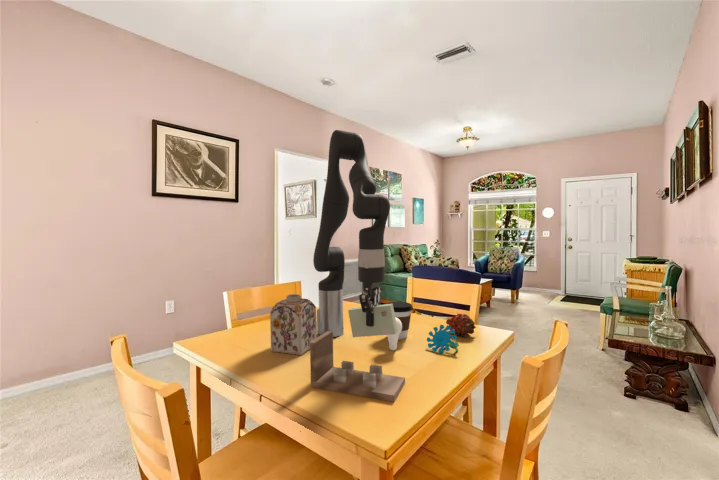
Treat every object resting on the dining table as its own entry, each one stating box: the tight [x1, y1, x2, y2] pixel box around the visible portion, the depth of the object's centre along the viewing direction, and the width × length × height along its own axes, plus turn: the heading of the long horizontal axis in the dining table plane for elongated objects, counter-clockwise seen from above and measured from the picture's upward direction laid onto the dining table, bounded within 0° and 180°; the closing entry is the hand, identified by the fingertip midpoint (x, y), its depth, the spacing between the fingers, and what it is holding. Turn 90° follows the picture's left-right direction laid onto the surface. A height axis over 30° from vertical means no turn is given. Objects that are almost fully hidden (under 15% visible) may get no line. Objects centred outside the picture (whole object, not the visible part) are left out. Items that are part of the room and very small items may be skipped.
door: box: [347, 303, 398, 338], centre depth 97 cm, size 13×4×8 cm, turn 68°
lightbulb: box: [386, 317, 402, 351], centre depth 112 cm, size 6×6×11 cm
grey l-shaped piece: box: [309, 331, 406, 403], centre depth 87 cm, size 22×10×12 cm, turn 68°
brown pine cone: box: [445, 313, 477, 337], centre depth 127 cm, size 8×8×12 cm
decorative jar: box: [269, 293, 318, 356], centre depth 115 cm, size 12×12×18 cm
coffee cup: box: [385, 301, 414, 340], centre depth 125 cm, size 11×11×12 cm
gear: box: [426, 324, 460, 354], centre depth 112 cm, size 11×6×10 cm
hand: (371, 324), depth 98 cm, fingers closed on door, 2 cm apart
